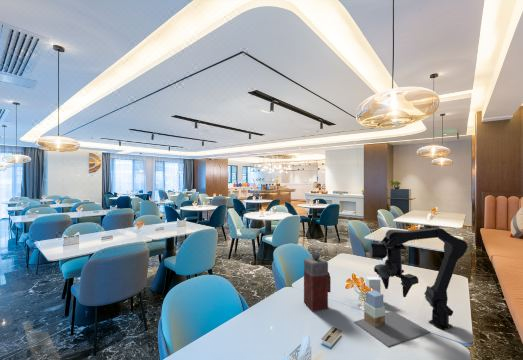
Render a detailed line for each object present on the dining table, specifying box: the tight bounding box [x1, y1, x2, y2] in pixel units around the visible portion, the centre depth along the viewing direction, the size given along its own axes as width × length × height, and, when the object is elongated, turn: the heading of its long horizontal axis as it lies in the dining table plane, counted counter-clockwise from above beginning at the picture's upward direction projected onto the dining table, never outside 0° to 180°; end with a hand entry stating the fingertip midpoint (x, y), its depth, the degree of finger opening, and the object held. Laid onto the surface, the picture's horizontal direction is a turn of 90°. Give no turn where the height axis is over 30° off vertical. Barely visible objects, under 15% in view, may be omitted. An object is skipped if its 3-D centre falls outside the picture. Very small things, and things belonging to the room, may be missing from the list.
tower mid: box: [363, 301, 386, 318], centre depth 112 cm, size 6×6×4 cm
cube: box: [365, 290, 384, 308], centre depth 112 cm, size 5×5×5 cm
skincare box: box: [365, 276, 381, 293], centre depth 133 cm, size 6×4×12 cm
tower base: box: [363, 311, 385, 327], centre depth 113 cm, size 6×6×4 cm
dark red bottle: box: [303, 249, 332, 312], centre depth 128 cm, size 9×11×28 cm
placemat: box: [353, 310, 431, 348], centre depth 109 cm, size 24×18×1 cm
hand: (395, 292), depth 115 cm, fingers open, 9 cm apart
